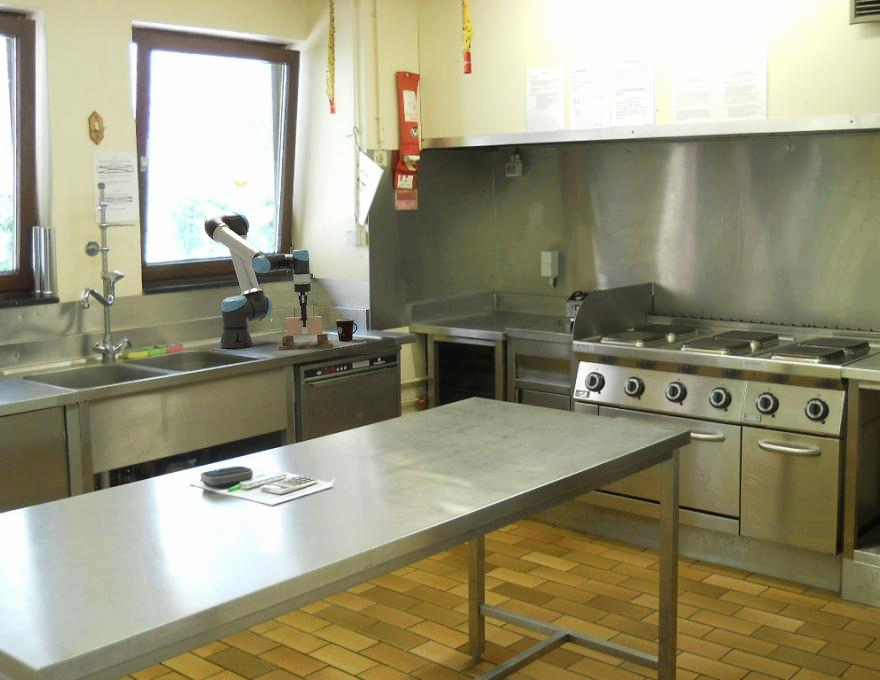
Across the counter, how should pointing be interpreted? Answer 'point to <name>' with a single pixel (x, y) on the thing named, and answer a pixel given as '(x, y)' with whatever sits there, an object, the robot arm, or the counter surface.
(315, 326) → the clay bar
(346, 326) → the coffee mug
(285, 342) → the drying rack
